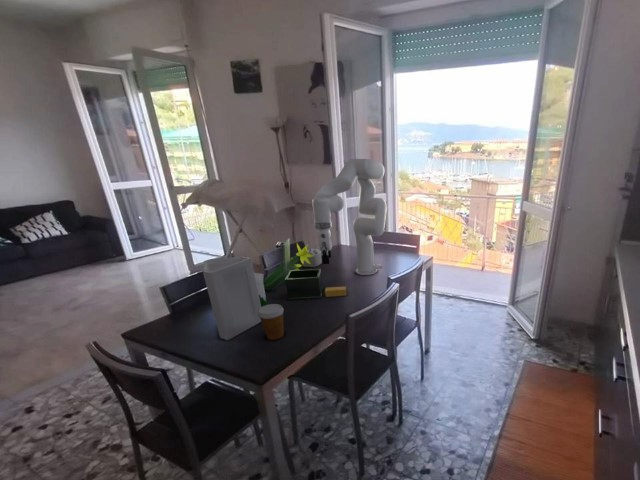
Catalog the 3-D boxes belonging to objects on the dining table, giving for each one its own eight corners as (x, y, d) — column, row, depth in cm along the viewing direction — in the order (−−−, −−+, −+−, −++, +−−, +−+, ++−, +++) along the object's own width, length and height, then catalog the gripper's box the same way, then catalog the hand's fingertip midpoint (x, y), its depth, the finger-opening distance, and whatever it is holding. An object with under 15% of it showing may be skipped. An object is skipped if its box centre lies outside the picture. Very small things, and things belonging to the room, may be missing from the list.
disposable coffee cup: (266, 330, 145) (261, 304, 140) (289, 329, 146) (285, 302, 141) (260, 342, 137) (254, 314, 132) (285, 341, 137) (280, 313, 132)
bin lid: (289, 237, 173) (279, 237, 172) (284, 244, 161) (273, 244, 161) (290, 269, 179) (280, 269, 179) (285, 278, 168) (275, 277, 167)
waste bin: (323, 288, 185) (320, 268, 181) (320, 298, 174) (318, 277, 170) (292, 290, 184) (289, 270, 180) (288, 300, 173) (285, 279, 168)
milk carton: (243, 316, 158) (233, 274, 149) (257, 307, 165) (248, 267, 157) (259, 318, 155) (250, 276, 147) (272, 310, 163) (265, 268, 154)
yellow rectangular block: (346, 292, 180) (345, 286, 179) (346, 295, 176) (345, 289, 175) (326, 293, 179) (325, 287, 178) (325, 296, 175) (325, 290, 174)
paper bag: (240, 313, 160) (226, 253, 149) (264, 319, 154) (252, 257, 143) (202, 332, 145) (184, 267, 133) (227, 340, 139) (210, 272, 127)
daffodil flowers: (252, 288, 189) (294, 254, 212) (274, 304, 188) (314, 268, 211) (253, 269, 176) (298, 235, 199) (277, 285, 175) (319, 249, 198)
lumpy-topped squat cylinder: (300, 265, 219) (298, 252, 215) (311, 259, 230) (309, 246, 227) (315, 267, 216) (313, 253, 212) (325, 260, 227) (324, 247, 224)
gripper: (330, 229, 156) (333, 266, 163) (332, 221, 171) (335, 255, 178) (312, 229, 155) (317, 266, 162) (317, 221, 171) (320, 255, 178)
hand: (327, 260), depth 170 cm, fingers open, 9 cm apart
